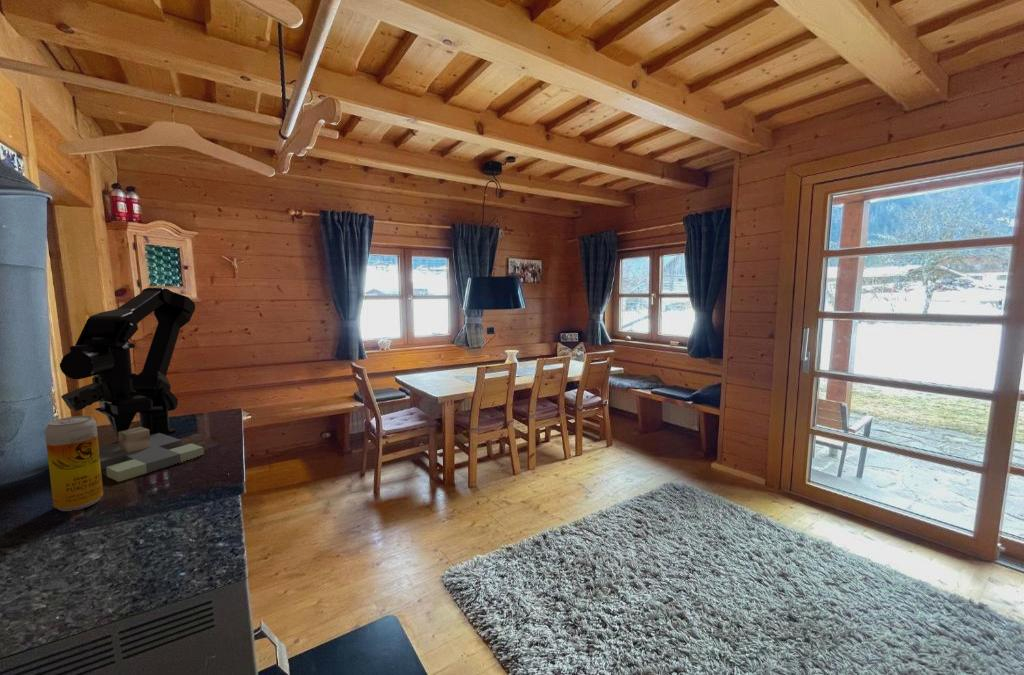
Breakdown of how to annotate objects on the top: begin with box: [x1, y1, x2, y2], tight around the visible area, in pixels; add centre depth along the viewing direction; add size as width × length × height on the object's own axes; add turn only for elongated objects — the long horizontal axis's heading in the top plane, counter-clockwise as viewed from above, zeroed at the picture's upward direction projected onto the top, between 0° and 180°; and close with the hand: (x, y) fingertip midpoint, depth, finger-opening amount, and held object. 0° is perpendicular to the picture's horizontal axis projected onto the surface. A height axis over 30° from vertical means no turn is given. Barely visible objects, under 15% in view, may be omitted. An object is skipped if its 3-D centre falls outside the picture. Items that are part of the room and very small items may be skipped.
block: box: [118, 426, 151, 453], centre depth 94 cm, size 4×4×4 cm
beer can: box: [44, 415, 104, 512], centre depth 73 cm, size 6×6×15 cm
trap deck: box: [99, 433, 205, 483], centre depth 93 cm, size 20×15×2 cm
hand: (120, 437), depth 97 cm, fingers closed
